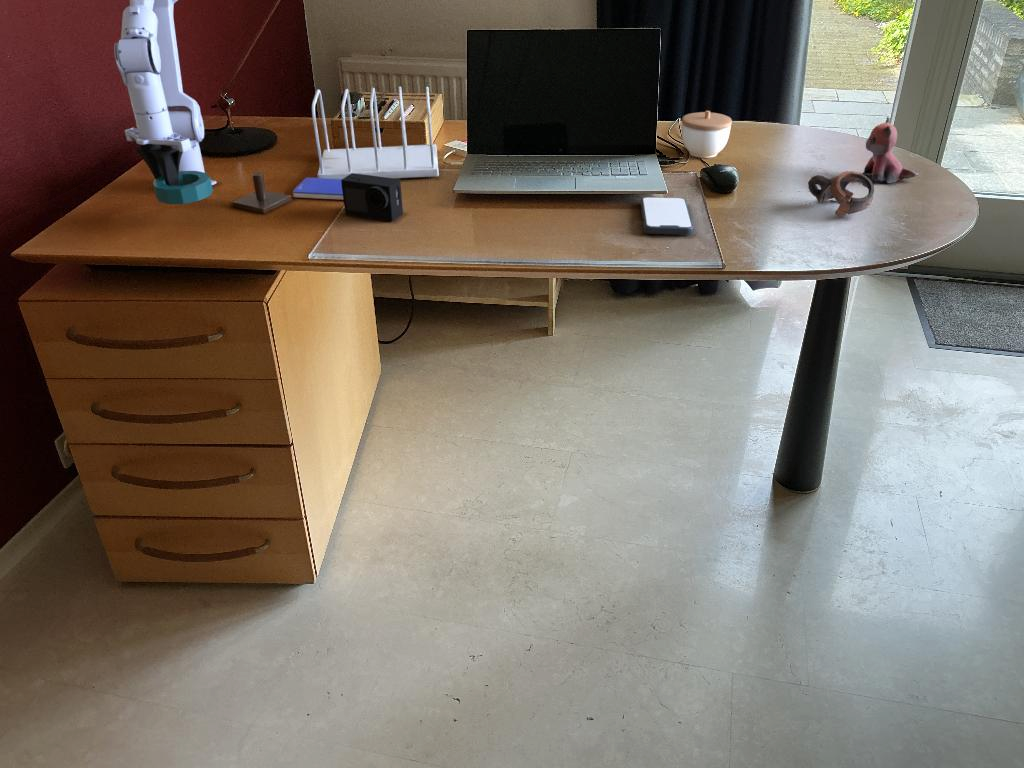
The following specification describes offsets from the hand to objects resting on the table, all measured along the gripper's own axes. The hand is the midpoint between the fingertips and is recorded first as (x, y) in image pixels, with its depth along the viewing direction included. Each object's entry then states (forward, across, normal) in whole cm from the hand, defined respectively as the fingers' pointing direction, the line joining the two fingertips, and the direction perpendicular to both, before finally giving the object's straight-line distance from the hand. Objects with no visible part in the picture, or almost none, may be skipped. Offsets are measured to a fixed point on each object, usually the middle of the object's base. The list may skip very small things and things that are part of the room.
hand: (168, 183), depth 160 cm
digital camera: (+7, +33, +18) cm, 38 cm away
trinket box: (+7, +77, +82) cm, 113 cm away
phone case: (+7, +83, +42) cm, 93 cm away
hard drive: (+7, +18, +24) cm, 31 cm away
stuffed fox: (+7, +116, +83) cm, 143 cm away
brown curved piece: (+7, +110, +62) cm, 126 cm away
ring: (+1, +4, 0) cm, 4 cm away
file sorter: (+7, +18, +41) cm, 45 cm away
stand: (+7, +10, +13) cm, 18 cm away
